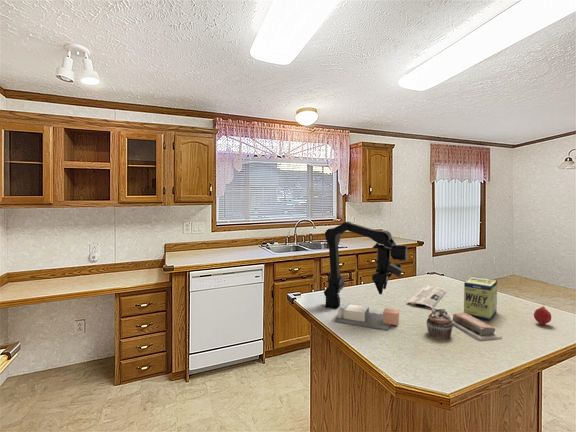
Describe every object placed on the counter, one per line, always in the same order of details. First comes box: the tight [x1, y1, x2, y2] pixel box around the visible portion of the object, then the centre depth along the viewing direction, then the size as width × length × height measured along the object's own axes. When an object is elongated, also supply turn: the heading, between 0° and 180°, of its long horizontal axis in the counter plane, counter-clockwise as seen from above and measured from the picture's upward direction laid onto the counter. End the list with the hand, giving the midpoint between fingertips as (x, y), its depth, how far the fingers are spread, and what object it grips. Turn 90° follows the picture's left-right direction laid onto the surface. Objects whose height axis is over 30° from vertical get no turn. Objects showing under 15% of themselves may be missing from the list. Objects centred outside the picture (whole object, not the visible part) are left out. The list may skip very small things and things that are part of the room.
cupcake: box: [426, 308, 454, 340], centre depth 125 cm, size 10×10×10 cm
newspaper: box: [406, 283, 447, 310], centre depth 171 cm, size 35×12×4 cm, turn 143°
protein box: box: [463, 276, 498, 322], centre depth 146 cm, size 10×16×16 cm
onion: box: [533, 305, 552, 326], centre depth 134 cm, size 6×6×8 cm
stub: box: [382, 307, 400, 326], centre depth 137 cm, size 6×5×5 cm
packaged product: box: [451, 312, 503, 342], centre depth 129 cm, size 18×5×10 cm
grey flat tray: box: [334, 301, 392, 332], centre depth 142 cm, size 23×16×6 cm
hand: (382, 291), depth 147 cm, fingers open, 9 cm apart
